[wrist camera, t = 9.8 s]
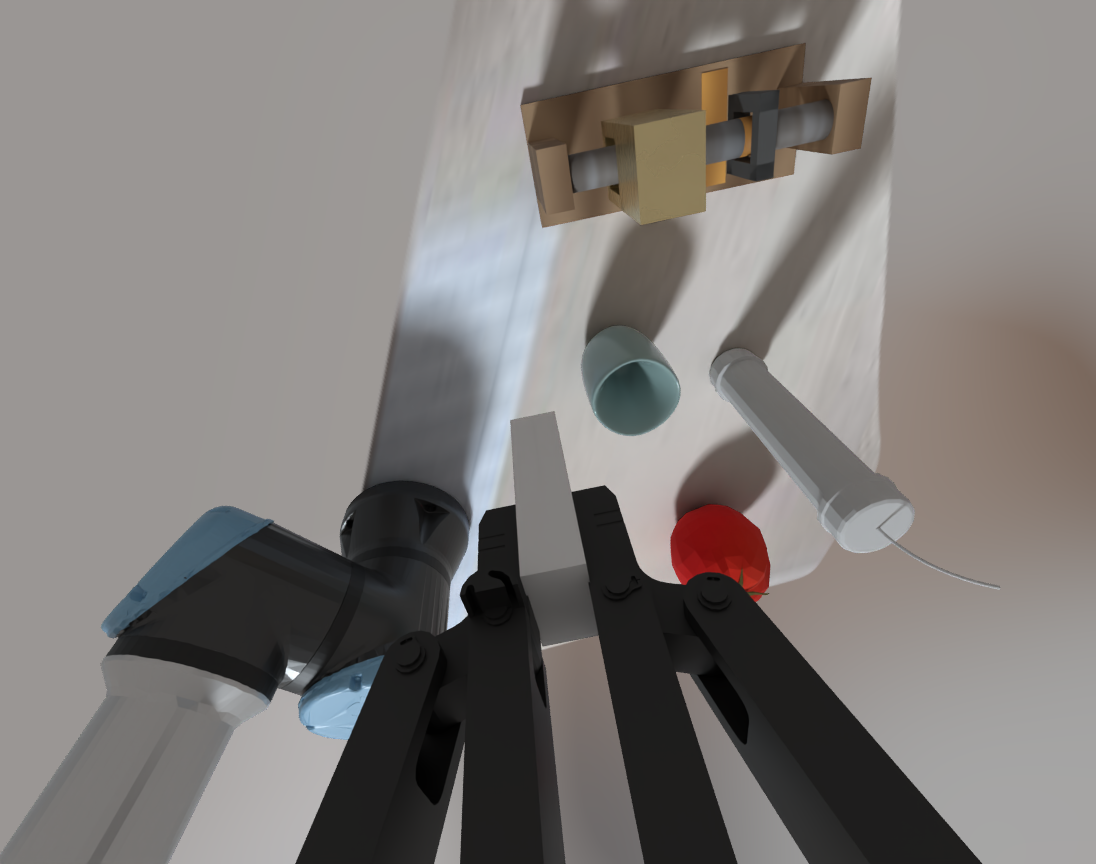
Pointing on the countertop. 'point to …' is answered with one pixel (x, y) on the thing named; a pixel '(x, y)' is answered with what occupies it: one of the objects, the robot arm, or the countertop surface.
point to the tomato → (721, 548)
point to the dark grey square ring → (756, 133)
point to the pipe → (817, 459)
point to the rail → (575, 120)
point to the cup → (628, 381)
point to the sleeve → (658, 163)
